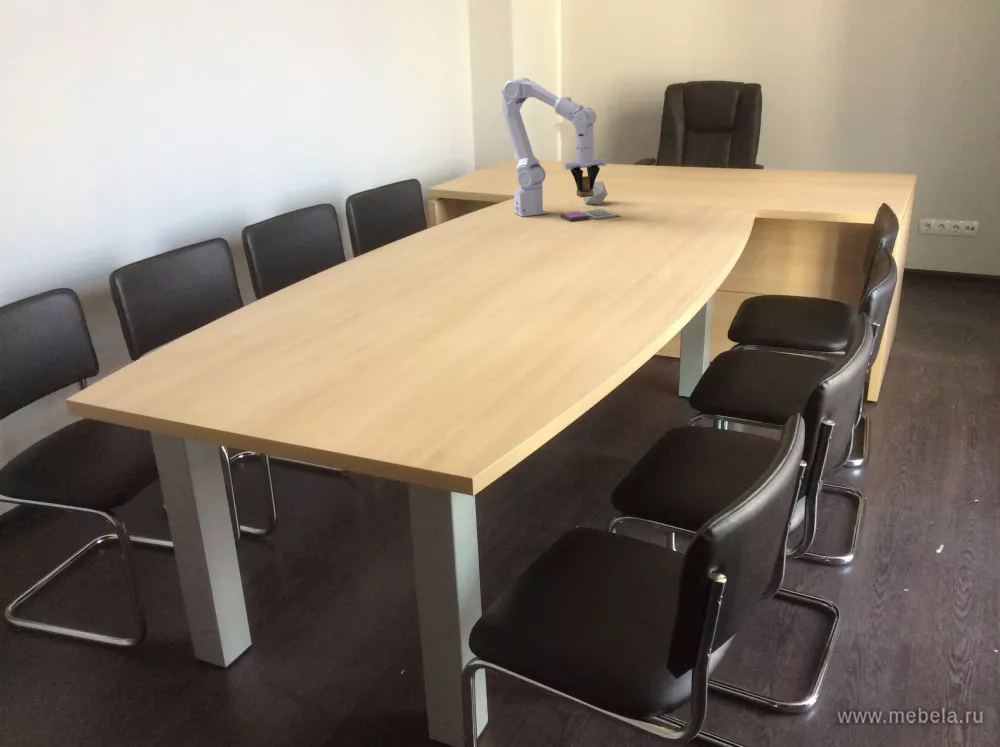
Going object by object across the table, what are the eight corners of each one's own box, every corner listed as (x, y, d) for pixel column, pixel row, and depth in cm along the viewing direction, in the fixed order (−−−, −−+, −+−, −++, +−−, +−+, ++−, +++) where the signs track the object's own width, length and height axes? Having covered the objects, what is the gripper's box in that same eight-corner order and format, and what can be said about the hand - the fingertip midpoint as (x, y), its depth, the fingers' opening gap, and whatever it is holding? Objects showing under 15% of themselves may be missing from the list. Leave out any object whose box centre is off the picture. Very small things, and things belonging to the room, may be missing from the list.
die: (591, 209, 295) (608, 185, 292) (572, 195, 297) (589, 171, 295) (598, 213, 302) (615, 190, 300) (580, 199, 305) (596, 176, 303)
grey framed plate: (595, 219, 276) (595, 216, 276) (581, 213, 286) (581, 210, 286) (620, 216, 279) (620, 213, 279) (605, 210, 289) (605, 207, 288)
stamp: (580, 197, 276) (580, 178, 273) (576, 195, 279) (576, 176, 277) (593, 196, 276) (593, 177, 274) (589, 193, 280) (589, 175, 278)
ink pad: (570, 221, 275) (570, 217, 275) (560, 217, 282) (560, 213, 282) (589, 219, 277) (589, 215, 277) (579, 214, 284) (579, 211, 284)
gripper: (569, 151, 266) (570, 194, 272) (610, 146, 271) (610, 189, 276) (560, 148, 273) (561, 190, 278) (600, 144, 277) (601, 186, 282)
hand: (585, 189), depth 277 cm, fingers closed on stamp, 3 cm apart
